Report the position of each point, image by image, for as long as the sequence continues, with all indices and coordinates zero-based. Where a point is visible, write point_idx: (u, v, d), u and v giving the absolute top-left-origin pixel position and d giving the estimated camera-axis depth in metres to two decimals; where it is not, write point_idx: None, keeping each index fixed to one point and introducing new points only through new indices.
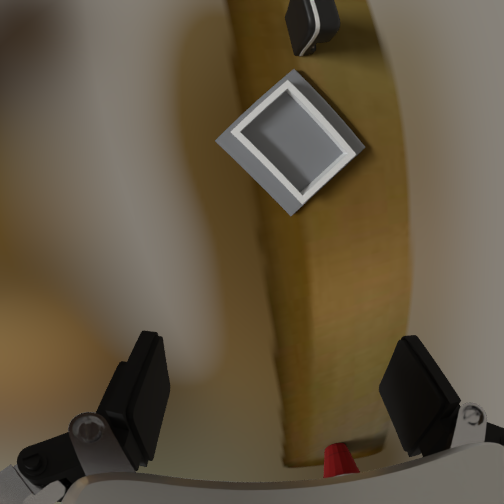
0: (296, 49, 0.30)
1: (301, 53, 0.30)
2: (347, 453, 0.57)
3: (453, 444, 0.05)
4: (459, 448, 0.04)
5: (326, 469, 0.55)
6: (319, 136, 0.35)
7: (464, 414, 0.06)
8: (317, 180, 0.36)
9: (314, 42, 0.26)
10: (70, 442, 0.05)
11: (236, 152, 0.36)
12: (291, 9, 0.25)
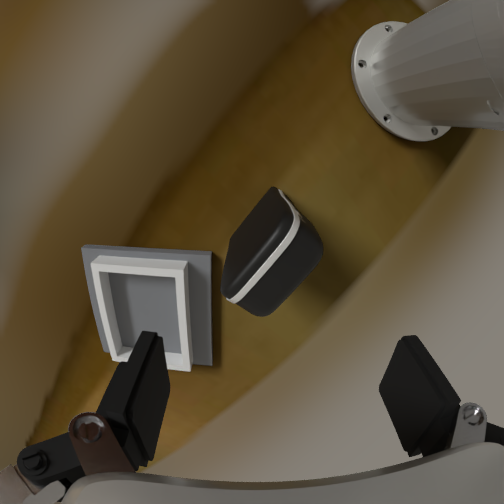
0: (229, 245, 0.26)
1: None
2: None
3: (453, 444, 0.05)
4: (459, 448, 0.04)
5: None
6: (174, 327, 0.31)
7: (464, 414, 0.06)
8: None
9: None
10: (70, 442, 0.05)
11: (91, 274, 0.28)
12: (265, 209, 0.21)
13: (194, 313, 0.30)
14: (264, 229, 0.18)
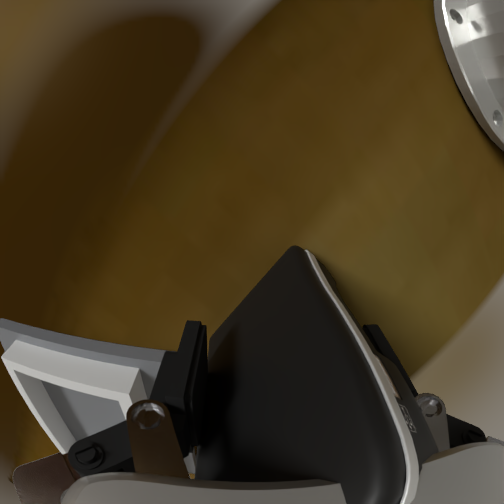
0: None
1: None
2: None
3: None
4: (459, 448, 0.04)
5: None
6: None
7: (419, 406, 0.07)
8: None
9: None
10: (126, 431, 0.06)
11: None
12: (292, 339, 0.08)
13: None
14: (302, 461, 0.05)
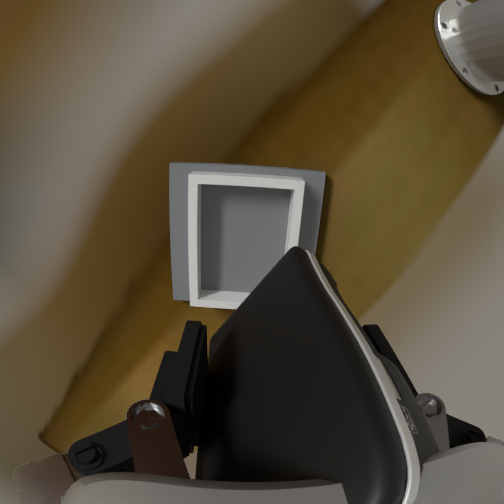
0: (208, 367, 0.12)
1: None
2: None
3: None
4: (459, 448, 0.04)
5: None
6: (273, 259, 0.28)
7: (419, 406, 0.07)
8: (226, 298, 0.28)
9: None
10: (126, 431, 0.06)
11: (178, 196, 0.26)
12: (293, 341, 0.08)
13: (299, 240, 0.28)
14: (303, 463, 0.05)
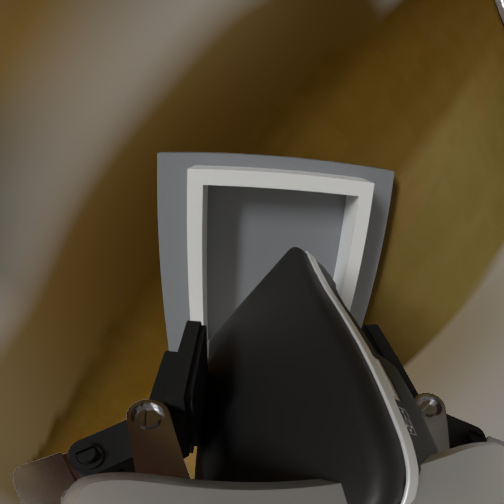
0: None
1: None
2: None
3: None
4: (459, 448, 0.04)
5: None
6: None
7: (419, 406, 0.07)
8: None
9: None
10: (126, 431, 0.06)
11: (170, 204, 0.17)
12: (292, 342, 0.08)
13: None
14: (302, 464, 0.05)
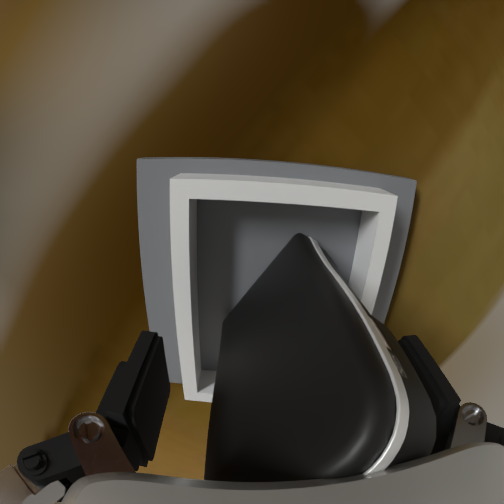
0: (220, 345, 0.13)
1: None
2: None
3: (453, 444, 0.05)
4: (459, 448, 0.04)
5: None
6: None
7: (464, 414, 0.06)
8: None
9: None
10: (70, 442, 0.05)
11: (153, 220, 0.14)
12: (296, 306, 0.09)
13: None
14: (304, 401, 0.06)
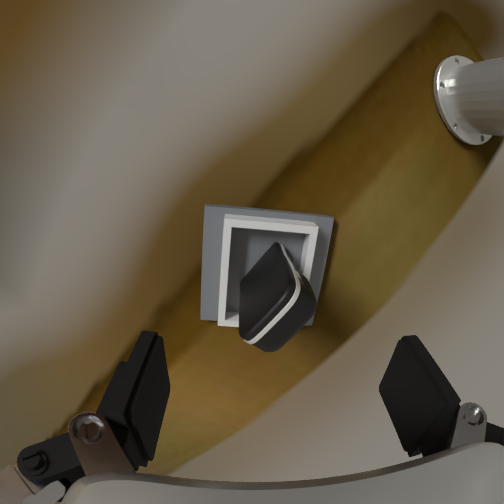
0: (240, 290, 0.31)
1: None
2: None
3: (453, 444, 0.05)
4: (459, 448, 0.04)
5: None
6: None
7: (464, 414, 0.06)
8: None
9: None
10: (70, 442, 0.05)
11: (210, 234, 0.32)
12: (272, 267, 0.27)
13: None
14: (273, 290, 0.24)
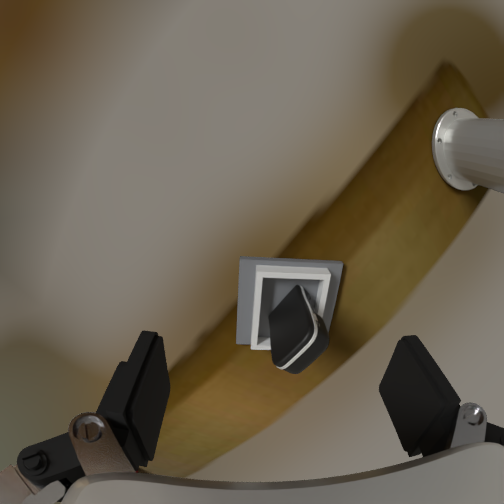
0: (269, 323, 0.39)
1: None
2: None
3: (453, 444, 0.05)
4: (459, 448, 0.04)
5: None
6: None
7: (464, 414, 0.06)
8: None
9: None
10: (70, 442, 0.05)
11: (245, 280, 0.40)
12: (295, 310, 0.35)
13: None
14: (297, 330, 0.32)
